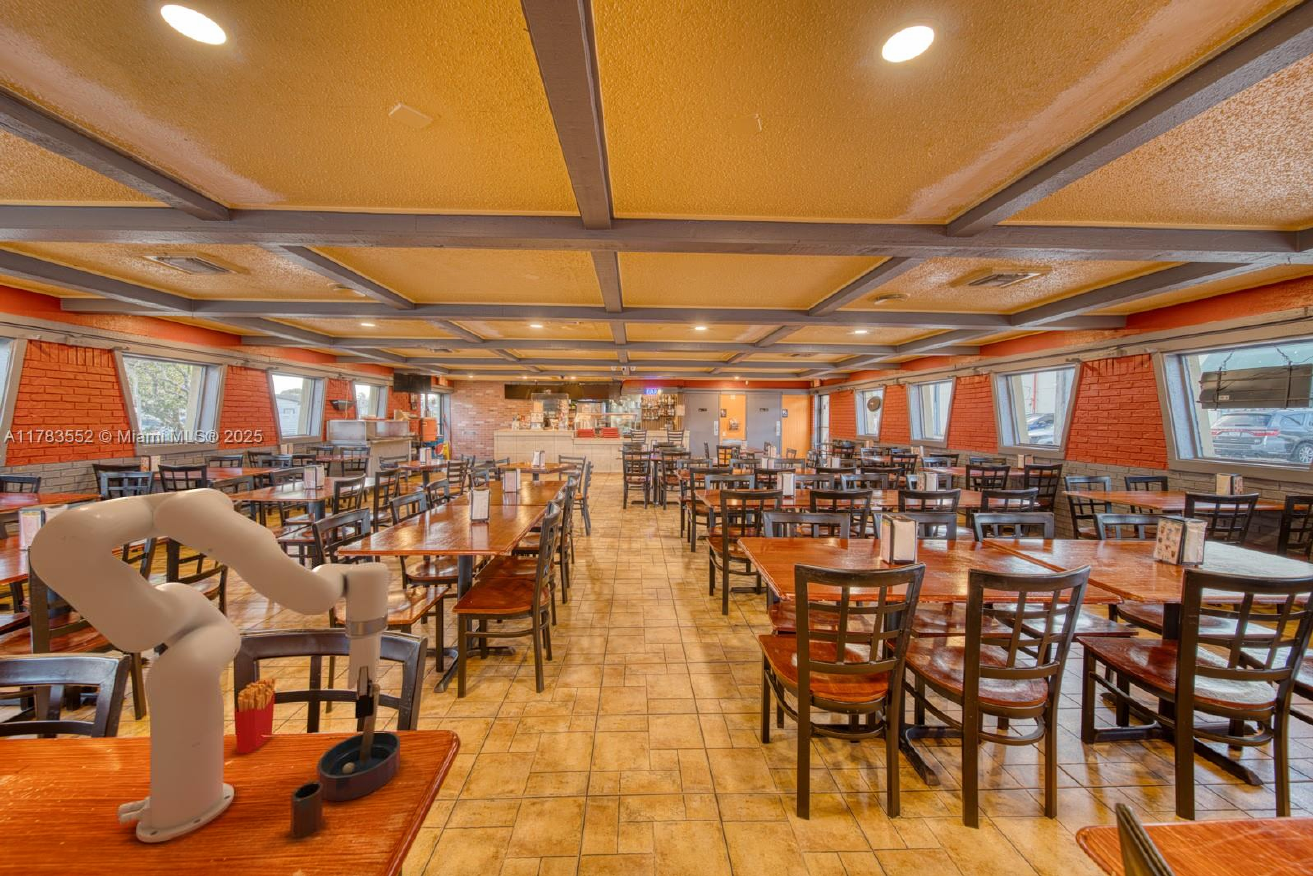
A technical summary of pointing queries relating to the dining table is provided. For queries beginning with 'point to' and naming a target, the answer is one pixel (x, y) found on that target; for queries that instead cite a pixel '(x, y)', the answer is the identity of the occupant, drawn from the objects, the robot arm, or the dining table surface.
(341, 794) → the bowl
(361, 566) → the robot arm
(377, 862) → the dining table surface
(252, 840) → the dining table surface
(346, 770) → the dough ball
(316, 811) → the holder
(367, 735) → the stick
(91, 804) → the dining table surface
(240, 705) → the french fries
